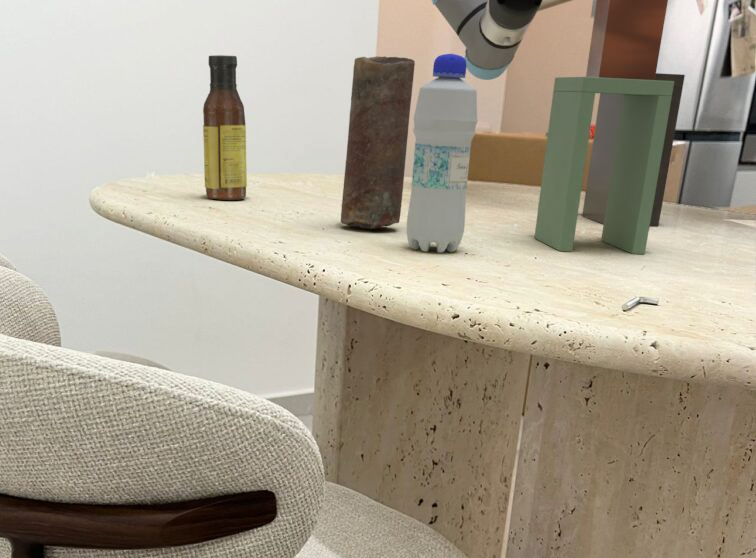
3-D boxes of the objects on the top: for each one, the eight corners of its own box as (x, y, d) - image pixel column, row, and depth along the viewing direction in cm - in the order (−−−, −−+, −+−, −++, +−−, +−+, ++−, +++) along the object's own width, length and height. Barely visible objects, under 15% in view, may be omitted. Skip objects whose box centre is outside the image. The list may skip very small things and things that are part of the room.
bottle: (448, 256, 100) (469, 52, 93) (392, 249, 103) (407, 51, 96) (473, 250, 105) (494, 56, 98) (418, 242, 109) (435, 54, 101)
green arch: (612, 240, 117) (637, 81, 111) (644, 254, 108) (674, 81, 102) (534, 238, 117) (554, 77, 110) (559, 251, 107) (584, 76, 101)
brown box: (620, 82, 119) (635, -13, 115) (654, 80, 103) (673, -31, 99) (572, 80, 119) (584, -15, 115) (598, 77, 103) (614, -33, 99)
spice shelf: (633, 217, 142) (657, 75, 135) (658, 226, 134) (685, 74, 127) (582, 215, 142) (603, 72, 134) (603, 224, 133) (627, 71, 126)
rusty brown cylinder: (411, 229, 119) (425, 57, 112) (383, 235, 113) (397, 54, 106) (358, 222, 123) (369, 56, 115) (329, 227, 117) (338, 52, 110)
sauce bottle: (251, 198, 144) (254, 57, 137) (239, 202, 138) (241, 55, 131) (210, 195, 145) (211, 55, 138) (196, 199, 139) (197, 53, 132)
